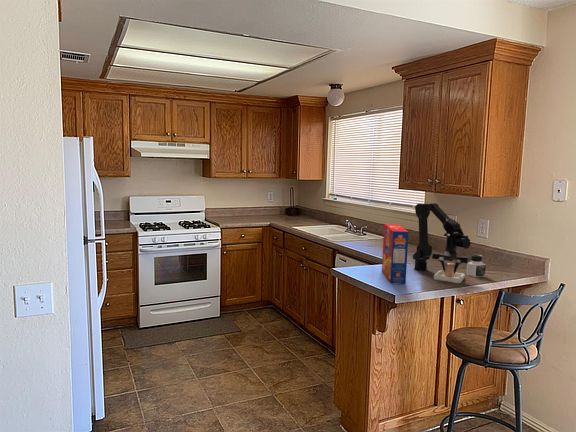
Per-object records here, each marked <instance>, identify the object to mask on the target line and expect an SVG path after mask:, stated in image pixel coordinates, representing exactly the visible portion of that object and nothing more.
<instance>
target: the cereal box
mask: <svg viewBox="0 0 576 432" xmlns="http://www.w3.org/2000/svg"><path fill="white" fill-rule="evenodd" d="M409 232H410V231H409V230H407V229H405V228H404V227H403V226H401V225H400V224H399V223H384V224H383V239H382V260H381V272H382V273H383V275H384V276H385V278H386V279H387V282H388V283H389V282H390V283H401V284H400V285H406V282H407V281H406V280H407V265H408V264H407V263H408V249H409V248H408V247H409V235H410V234H409ZM390 283H389V284H390Z"/></svg>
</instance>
